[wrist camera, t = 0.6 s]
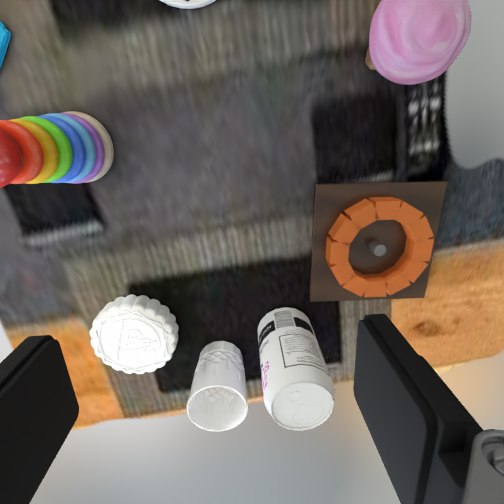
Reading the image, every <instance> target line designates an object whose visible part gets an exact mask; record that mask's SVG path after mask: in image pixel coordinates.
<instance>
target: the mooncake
mask: <svg viewBox="0 0 504 504" xmlns="http://www.w3.org/2000/svg"><path fill="white" fill-rule="evenodd" d="M175 321H176V318H175V316H174V315H173V314H171V313H170V311H169V308H168V307H167V306H165V305H161V304H160V302H159V301H158V300H156V299H149V298H148V297H147V296H145V295H141V296H138V297H137V296H136V295H133V294H131V295H128V296H126V298H125V297H118V298H116V299H115V301H114V302H109V303H107V304H106V306H105V307H104V309H103V310H101V312H100V313H99V314H98V316H97V317H96V318H95V320H94V321H93V327H92V329H91V330H90V336H91V337H92V339H91V345H92V347H93V348H95V354H96V355H97V356H98V357H101V358H102V361H103V363H105V364H107V365H111V366H112V368H113V369H115V370H118V371H119V370H123V372H125V373H127V374H131V373H133V372H135V373H136V374H143V373H145V372H153V371H155V370H156V368H161V367H163V366H164V365H165V363H166V361H168V360H170V359H171V357H172V354H173V351H174V350H175V348H176V344H177V341H178V334H177V333H178V330H179V327H178V325H177V324H176V323H175Z"/></svg>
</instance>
